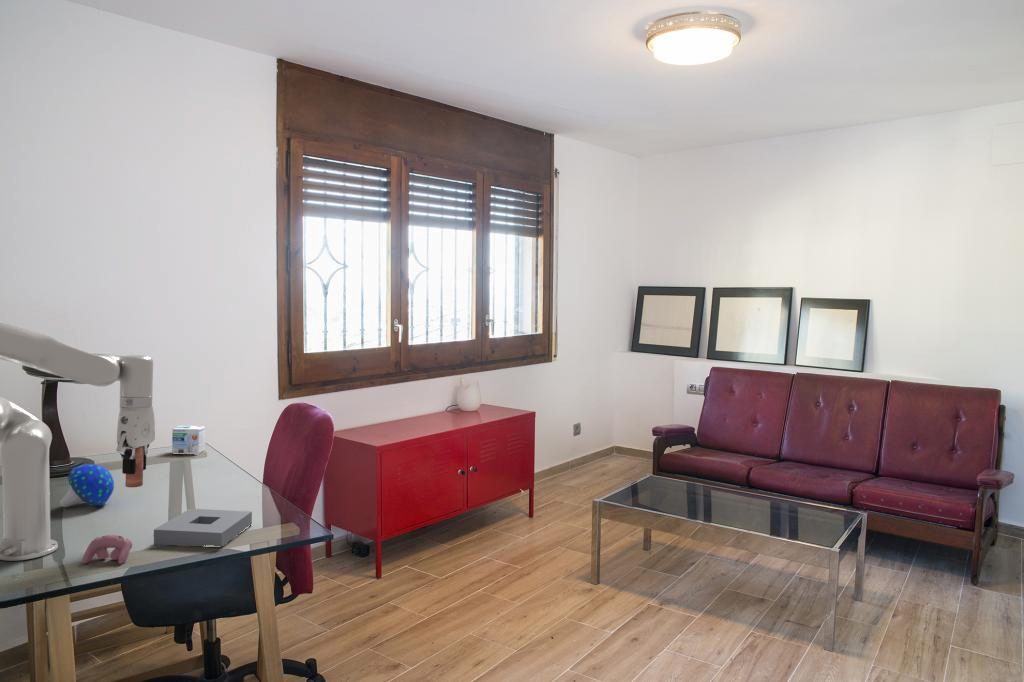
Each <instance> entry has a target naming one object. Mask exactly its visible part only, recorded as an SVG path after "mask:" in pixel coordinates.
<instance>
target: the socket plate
mask: <svg viewBox="0 0 1024 682" xmlns="http://www.w3.org/2000/svg"><path fill="white" fill-rule="evenodd" d="M251 524H252V525H253V511H245V510H225V509H224V510H223V509H207V508H206V509H203V508H188V509H187V510H186V511H183V512H182V513H180V514H179V515H177V516H175V517H173V518H171V519H170V520H168V521H166V522H165V523H162V524H161V525H159V526H158V527H156V528H154V529H153V545H154V544H165V545H164V546H169V545H177V546H176V547H189V546H204V545H205V546H206V545H214V546H220V547H222V546H224V545H225V544H226V543H228V542H229V541H230V540H232V539H233V538H234V537H235V536H236V535H238V534H239V533H240V532H241V531H243V530H244V529H245V528H246V527H248V526H249V525H251ZM238 536H239V535H238ZM234 539H235V538H234ZM234 539H233V540H234ZM233 540H232V541H233ZM230 542H231V541H230ZM230 542H229V543H230ZM229 543H228V544H229ZM226 545H227V544H226ZM226 545H225V546H226ZM225 546H224V547H225ZM222 548H223V547H222Z"/></svg>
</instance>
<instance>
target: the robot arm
mask: <svg viewBox="0 0 1024 682" xmlns="http://www.w3.org/2000/svg"><path fill="white" fill-rule="evenodd" d="M0 360H2V361H6V362H10V363H14V364H17V365H20V366H24V367H27V368H32V369H34V370H37V371H41V372H45V373H47V374H51V375H55V376H58V377H61V378H65V379H68V380H71V381H75V382H79V383H83V384H86V385H90V386H94V387H108V386H110V385H113V384H114V383H115V382H118V381H119V413H118V419H117V429H116V445H117V447H116V452H117V453H118V454H119V455H120V457H121V459H122V467H121V468H122V470H121V471H122V474H123V475H126V474H135V470H136V459H134V455H135V448H138V447H141V446H144V456H143V471H146V469H147V455H148V452H149V451H148V449H149V447H150V445H151V444H152V443H153V442H154V441H155V439H156V426H155V425H156V423H155V412H154V407H153V388H154V387H153V385H154V383H153V382H154V381H153V379H154V359H153V358H152V357H151V356H148V355H139V354H138V355H137V354H135V355H134V354H133V355H132V354H131V355H118V354H109V353H98V354H96V353H92V352H89V351H85V350H82V349H79V348H76V347H72V346H69V345H67V344H64V343H62V342H60V341H59V340H57V339H56V338H53V337H52V336H49V335H46V334H44V333H40V332H36V331H33V330H30V329H25V328H22V327H18V326H15V325H11V324H8V323H6V322H4V321H2V320H0ZM52 440H53V434H52V431H51V429H50V427H49V426H48V425H47V424H46V423H45V422H43V420H40V419H39V418H38V417H36V416H35V415H33V414H31V413H30V412H28V411H26V410H25V409H23V408H21V407H20V406H19V405H17V404H15V403H14V402H12V401H10V400H9V399H6V398H5V397H2V396H0V445H1V446H0V464H1V478H2V524H3V525H2V526H3V529H2V533H3V539H1V540H0V561H1V560H2V561H9V562H10V561H11V562H12V561H14V562H15V561H17V562H18V561H25V560H31V559H36V558H40V557H43V556H47V555H49V554H51V553H53V552H56V550H57V549H58V547H59V545H58V544H59V542H58V541H57V540H55V539H51V486H50V485H51V484H50V483H51V482H50V481H51V479H50V478H51V477H50V476H51V474H50V448H51V443H52ZM127 444H129V446H132V447H128V446H127ZM127 449H131V450H130V452H129V451H128V450H127Z"/></svg>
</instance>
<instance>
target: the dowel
mask: <svg viewBox="0 0 1024 682" xmlns="http://www.w3.org/2000/svg"><path fill="white" fill-rule="evenodd" d="M127 446H128V447H132V446H129V444H127ZM127 450H128V451H129V452H130V450H131V449H127ZM143 456H144V446H141V447H138V448H135V455H134V459H136V470H135V474H125V484H124V485H125V487H126V488H138V487H142V486H143V484H144V470H143Z"/></svg>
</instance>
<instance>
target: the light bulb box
mask: <svg viewBox="0 0 1024 682" xmlns="http://www.w3.org/2000/svg"><path fill="white" fill-rule="evenodd" d="M205 429H206V426H204V425H177V426H176V427H173V428H172V436H171V437H172V439H171V440H172V441H171V443H172V444H171V450H172V451H171V454H172V453H199V452H201V451H203V450H204V449H205V448H206V447H205V446H206V445H205V440H206V430H205Z"/></svg>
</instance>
